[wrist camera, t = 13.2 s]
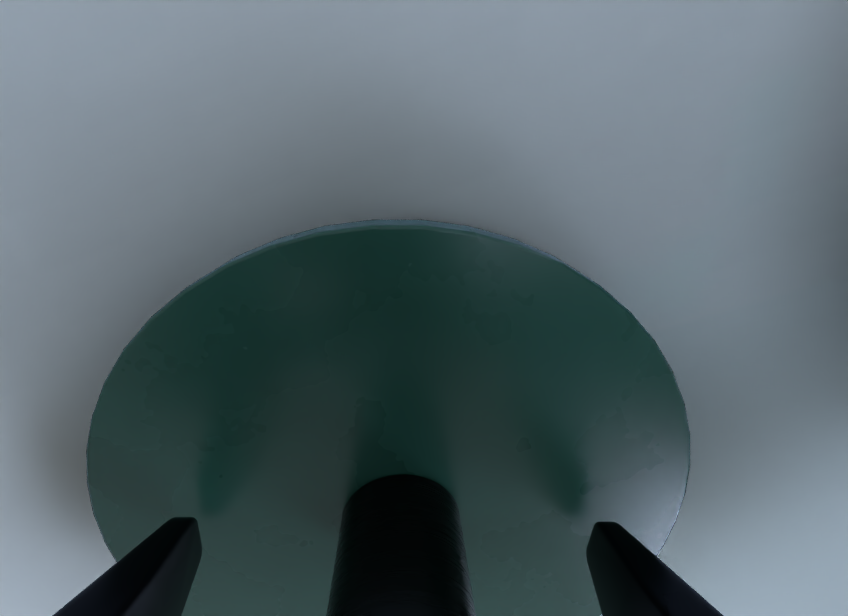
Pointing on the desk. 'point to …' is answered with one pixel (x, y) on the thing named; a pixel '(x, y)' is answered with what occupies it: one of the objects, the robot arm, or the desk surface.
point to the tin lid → (390, 427)
